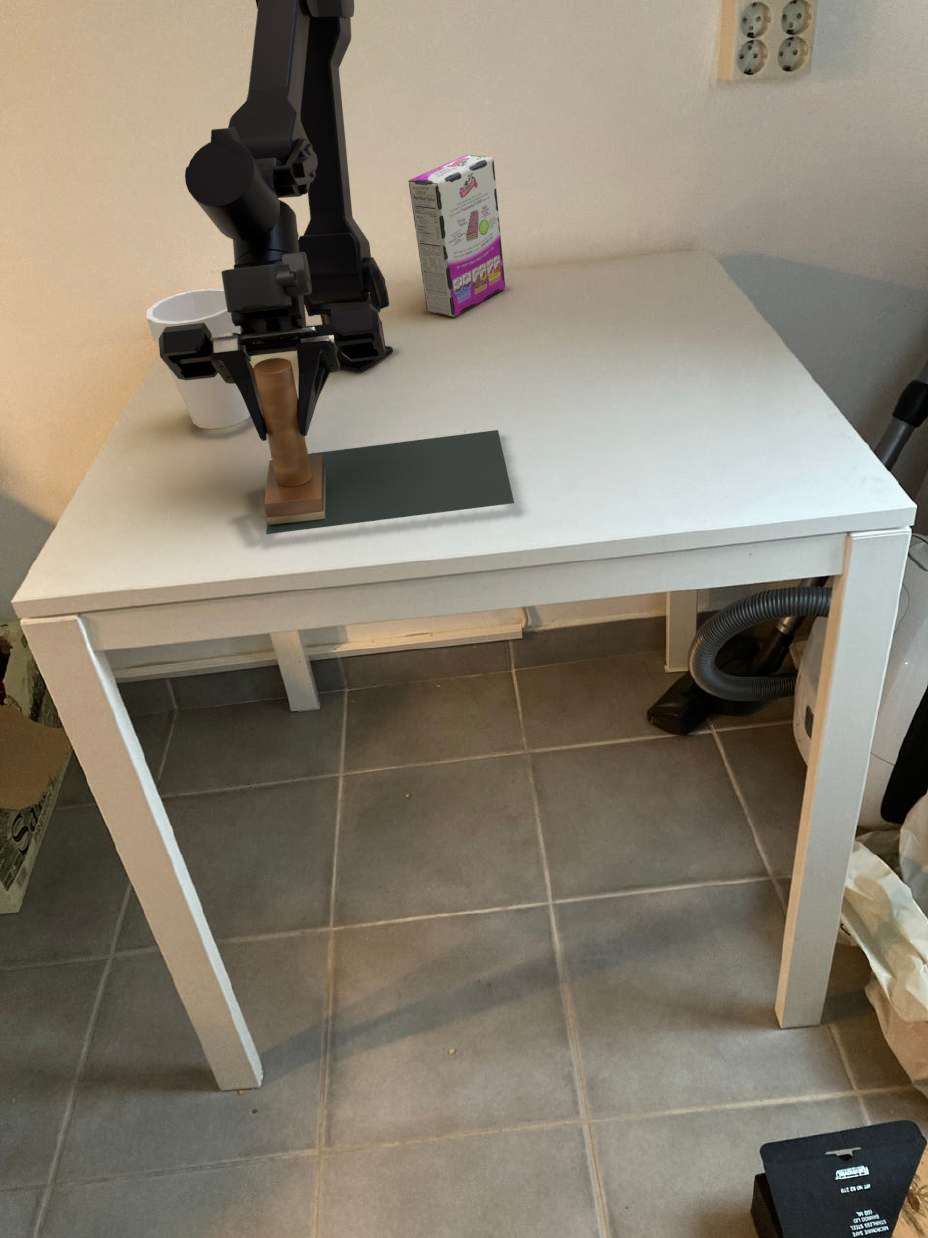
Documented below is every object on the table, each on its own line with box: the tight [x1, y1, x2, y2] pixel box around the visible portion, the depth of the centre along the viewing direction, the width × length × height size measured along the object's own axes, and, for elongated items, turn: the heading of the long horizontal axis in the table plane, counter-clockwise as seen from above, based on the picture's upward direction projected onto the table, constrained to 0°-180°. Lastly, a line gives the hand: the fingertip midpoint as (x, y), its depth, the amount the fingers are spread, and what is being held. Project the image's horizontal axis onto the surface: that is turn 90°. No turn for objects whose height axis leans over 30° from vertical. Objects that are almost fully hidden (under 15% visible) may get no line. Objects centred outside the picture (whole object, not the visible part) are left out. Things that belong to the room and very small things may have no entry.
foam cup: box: [146, 287, 251, 430], centre depth 103 cm, size 10×9×13 cm
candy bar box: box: [407, 154, 506, 318], centre depth 123 cm, size 11×5×16 cm, turn 141°
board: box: [265, 429, 515, 535], centre depth 92 cm, size 22×14×1 cm, turn 94°
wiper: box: [253, 357, 326, 525], centre depth 86 cm, size 5×8×13 cm, turn 6°
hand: (283, 437), depth 84 cm, fingers closed on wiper, 3 cm apart
